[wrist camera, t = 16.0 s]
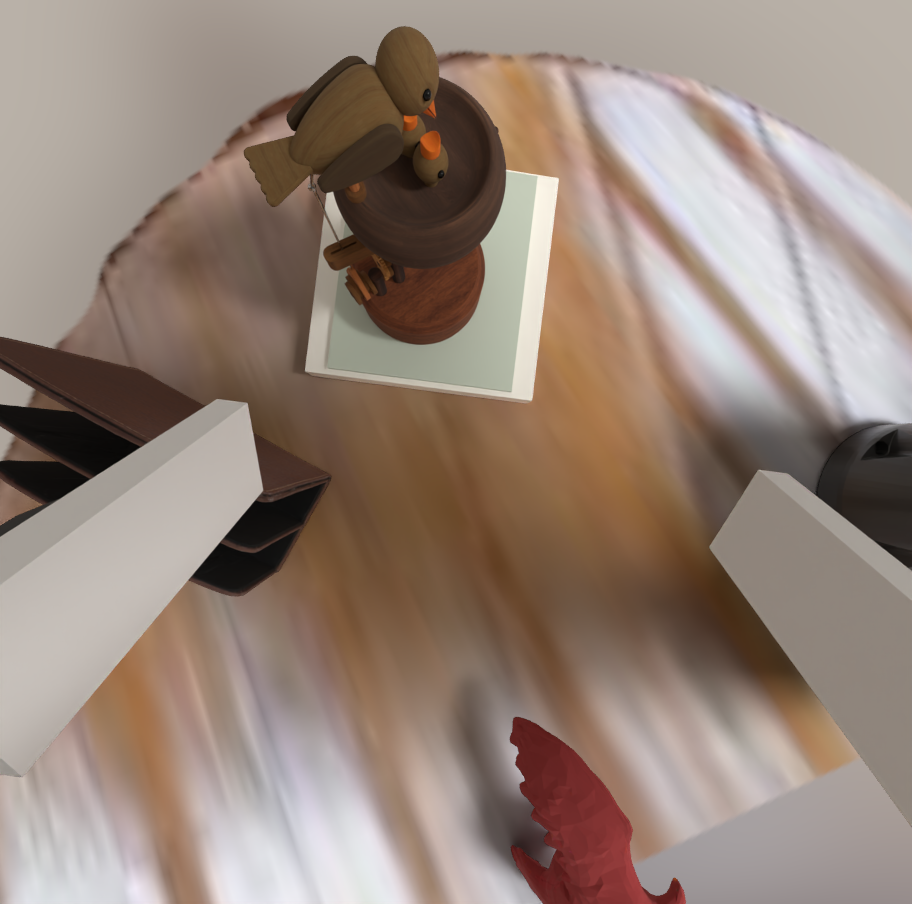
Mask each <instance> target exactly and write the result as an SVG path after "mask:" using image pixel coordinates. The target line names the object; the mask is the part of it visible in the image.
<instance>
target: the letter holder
mask: <svg viewBox="0 0 912 904" xmlns="http://www.w3.org/2000/svg"><path fill="white" fill-rule="evenodd" d="M0 369H2V370H4V371H6V372H7V373H9V374H11V375H13V376H14V377H16V378H18V379H19V380H21V381H22V382H24V383H26V384H28V385H29V386H31V387H33V388H34V389H36V390H38V391H39V392H41V393H43V394H45V395H46V396H48V397H49V398H51V399H53V400H55V401H57V402H59V403H60V404H62V405H64V406H66V407H67V408H69V409H71V410H73V411H74V412H70V411H58V410H49V409H40V408H30V407H19V406H9V405H1V404H0V426H1V427H2V428H4V429H6V430H7V431H9V432H10V433H12V434H13V435H15V436H17V437H18V438H20V439H22V440H23V441H25V442H27V443H28V444H30V445H32V446H34V447H35V448H37V449H39V450H40V451H42V452H43V453H45V454H47V455H49V456H50V457H52V458H54V459H55V460H57V461H59V462H52V461H51V462H47V461H45V462H43V461H12V460H8V461H0V478H1V479H2V480H3V481H4V482H6V483H8V484H9V485H11V486H12V487H14V488H15V489H17V490H19V491H20V492H22V493H24V494H25V495H27V496H29V497H30V498H32V499H34V500H35V501H37V502H39V503H41V504H43V505H44V504H47V503H49V502H52V501H54V500H57V499H58V500H59V499H61V498H62V497H64V496H65V495H67V494H68V493H70V492H72V491H73V490H75V489H76V488H78V487H79V486H81V485H83V484H84V483H86V482H87V481H89V480H90V479H92V478H94V477H95V476H97V475H98V474H100V473H101V472H103V471H105V470H106V469H108V468H109V467H111V466H112V465H114V464H116V463H117V462H119V461H120V460H122V459H123V458H125V457H127V456H128V455H130V454H131V453H133V452H134V451H136V450H138V449H139V448H141V447H142V446H144V445H145V444H147V443H149V442H150V441H152V440H153V439H155V438H157V437H158V436H160V435H161V434H163V433H164V432H166V431H168V430H169V429H171V428H172V427H174V426H175V425H177V424H179V423H180V422H182V421H183V420H185V419H186V418H188V417H190V416H191V415H193V414H194V413H196V412H197V411H199V410H201V409H202V408H204V407H205V406H204V405H202V404H200V403H198V402H196V401H194V400H193V399H191V398H189V397H187V396H186V395H184V394H182V393H180V392H178V391H176V390H175V389H173V388H171V387H169V386H167V385H165V384H164V383H162V382H160V381H158V380H156V379H155V378H153V377H152V376H150V375H148V374H146V373H145V372H143V371H141V370H139V369H135V368H131V367H126V366H121V365H117V364H113V363H110V362H105V361H101V360H98V359H93V358H90V357H85V356H80V355H76V354H72V353H68V352H64V351H60V350H56V349H52V348H48V347H44V346H40V345H35V344H31V343H26V342H22V341H18V340H13V339H9V338H4V337H0ZM253 436H254V442H255V447H256V453H257V458H258V464H259V469H260V475H261V480H262V486H263V491H262V493H261V494H260V495H259V496H258V497H257V499H256V500H255V501H254V502H253V503H252V504H251V506H250V507H249V508H248V509H247V510H246V512H245V513H244V514H243V515H242V516H241V518H240V519H239V520H238V521H237V522H236V524H235V525H234V526H233V527H232V528H231V530H230V531H229V532H228V533H227V534H226V535H225V537H224V538H223V539H222V540H221V541H220V543H219V544H218V545H217V546H216V547H215V549H214V550H213V551H212V552H211V553H210V555H209V556H208V557H207V558H206V559H205V561H204V562H203V563H202V564H201V565H200V566H199V568H198V569H197V570H196V571H195V572H194V574H193V575H192V576H191V577H190V578H189V581H191V582H194V583H196V584H198V585H201V586H203V587H206V588H208V589H211V590H213V591H216V592H219V593H222V594H225V595H229V596H243V595H245V594H246V593H248V592H249V591H250V590H252V589H253V588H255V587H256V586H257V585H259V584H260V583H261V582H263V581H264V580H266V579H267V578H269V577H270V576H272V575H273V574H274V573H276V572H278V571H279V570H280V569H281V567H282V565H283V563H284V562H285V560H286V558H287V557H288V555H289V553H290V551H291V549H292V547H293V546H294V544H295V542H296V540H297V539H298V537H299V535H300V533H301V532H302V530H303V528H304V526H305V525H306V523H307V521H308V520H309V518H310V516H311V514H312V513H313V511H314V509H315V507H316V506H317V504H318V502H319V500H320V499H321V497H322V495H323V493H324V491H325V490H326V488H327V486H328V484H329V482H330V480H331V475H329V474H328V473H326V472H324V471H322V470H320V469H318V468H316V467H314V466H313V465H311V464H309V463H307V462H305V461H303V460H301V459H300V458H298V457H296V456H294V455H292V454H290V453H289V452H287V451H285V450H283V449H281V448H280V447H278V446H276V445H274V444H272V443H271V442H269V441H267V440H265V439H263V438H262V437H260V436H258V435H256V434H254V433H253Z"/></svg>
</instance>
